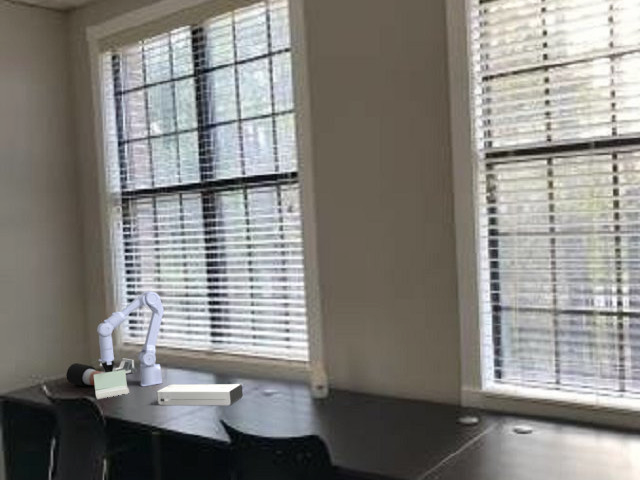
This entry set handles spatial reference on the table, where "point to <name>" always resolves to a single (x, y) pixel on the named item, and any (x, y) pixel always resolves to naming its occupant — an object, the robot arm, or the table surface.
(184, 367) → the table surface
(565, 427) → the table surface
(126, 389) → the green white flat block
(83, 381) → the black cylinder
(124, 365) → the phone holder
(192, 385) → the laminator
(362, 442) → the table surface
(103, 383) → the cover
